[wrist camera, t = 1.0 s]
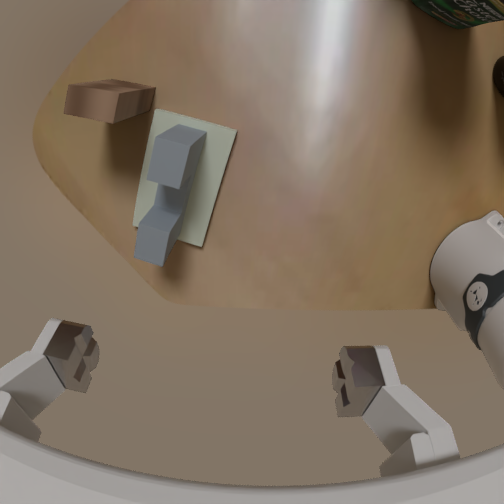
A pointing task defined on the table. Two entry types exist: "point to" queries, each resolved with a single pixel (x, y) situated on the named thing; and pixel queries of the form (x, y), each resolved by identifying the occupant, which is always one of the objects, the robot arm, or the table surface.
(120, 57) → the table surface
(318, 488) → the robot arm
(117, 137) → the table surface
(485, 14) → the coffee jar
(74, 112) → the walnut slat
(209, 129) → the notched receiver
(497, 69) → the supplement bottle
